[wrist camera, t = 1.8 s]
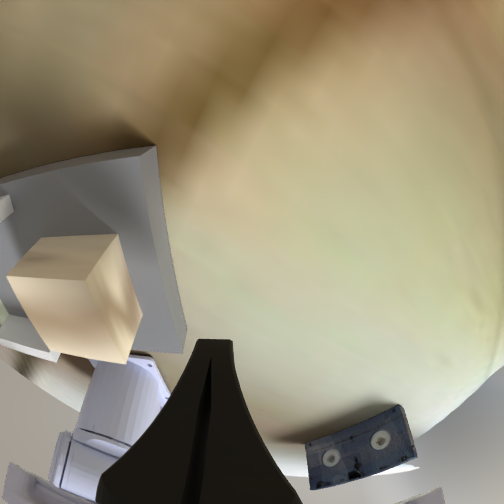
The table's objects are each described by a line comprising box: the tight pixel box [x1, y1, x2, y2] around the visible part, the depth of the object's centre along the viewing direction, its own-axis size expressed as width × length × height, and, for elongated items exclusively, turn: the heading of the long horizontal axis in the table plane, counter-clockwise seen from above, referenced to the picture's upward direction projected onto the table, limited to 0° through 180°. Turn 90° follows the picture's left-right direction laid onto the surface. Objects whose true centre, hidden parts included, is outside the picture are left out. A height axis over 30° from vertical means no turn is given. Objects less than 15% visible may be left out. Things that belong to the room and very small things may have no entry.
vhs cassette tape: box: [305, 405, 417, 490], centre depth 32 cm, size 18×3×10 cm, turn 131°
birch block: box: [6, 234, 143, 364], centre depth 13 cm, size 6×6×4 cm
